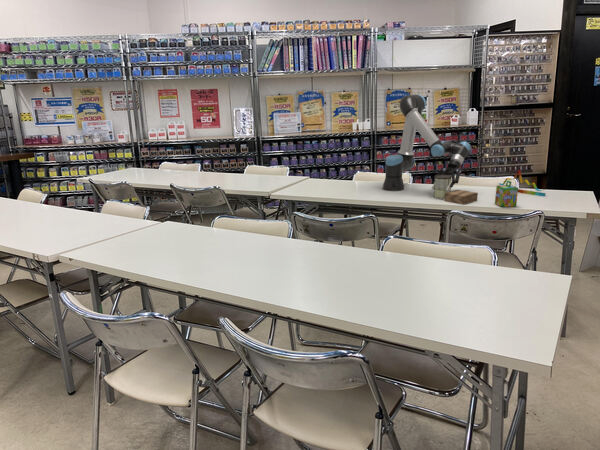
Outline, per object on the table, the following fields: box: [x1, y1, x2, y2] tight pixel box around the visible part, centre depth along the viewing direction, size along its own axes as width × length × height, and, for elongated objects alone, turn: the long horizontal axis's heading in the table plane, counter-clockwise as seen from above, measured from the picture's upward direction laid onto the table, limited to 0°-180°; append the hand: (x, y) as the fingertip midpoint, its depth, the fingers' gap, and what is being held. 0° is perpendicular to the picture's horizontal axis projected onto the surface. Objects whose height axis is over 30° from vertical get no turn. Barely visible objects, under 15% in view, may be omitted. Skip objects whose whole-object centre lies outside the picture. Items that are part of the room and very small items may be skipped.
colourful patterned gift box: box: [494, 179, 519, 208], centre depth 277 cm, size 9×9×15 cm
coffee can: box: [433, 174, 452, 200], centre depth 301 cm, size 10×10×14 cm
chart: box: [498, 169, 546, 197], centre depth 308 cm, size 30×3×15 cm, turn 39°
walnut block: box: [444, 189, 479, 205], centre depth 292 cm, size 14×14×5 cm
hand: (440, 189), depth 300 cm, fingers closed on coffee can, 10 cm apart
